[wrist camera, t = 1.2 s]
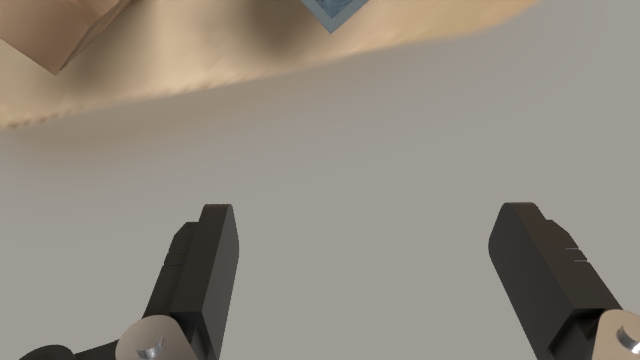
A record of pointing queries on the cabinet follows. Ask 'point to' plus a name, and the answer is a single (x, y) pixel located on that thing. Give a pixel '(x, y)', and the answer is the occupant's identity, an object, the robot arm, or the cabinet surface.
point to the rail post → (55, 27)
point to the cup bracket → (333, 11)
